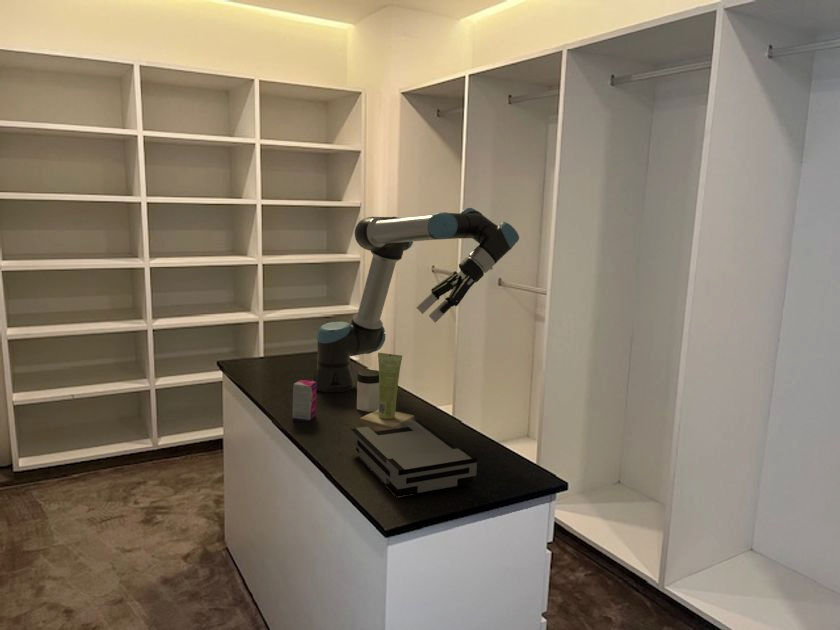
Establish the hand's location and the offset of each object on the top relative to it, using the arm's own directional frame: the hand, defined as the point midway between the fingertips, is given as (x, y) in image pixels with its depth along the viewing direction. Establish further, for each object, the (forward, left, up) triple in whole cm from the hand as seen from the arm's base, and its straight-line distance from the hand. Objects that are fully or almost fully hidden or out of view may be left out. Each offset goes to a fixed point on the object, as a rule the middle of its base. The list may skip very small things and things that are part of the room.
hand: (425, 315), depth 188 cm
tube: (+8, -7, -31) cm, 33 cm away
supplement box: (+14, -34, -35) cm, 51 cm away
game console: (+29, +13, -36) cm, 47 cm away
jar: (-6, -23, -35) cm, 43 cm away
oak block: (+8, -7, -35) cm, 37 cm away
